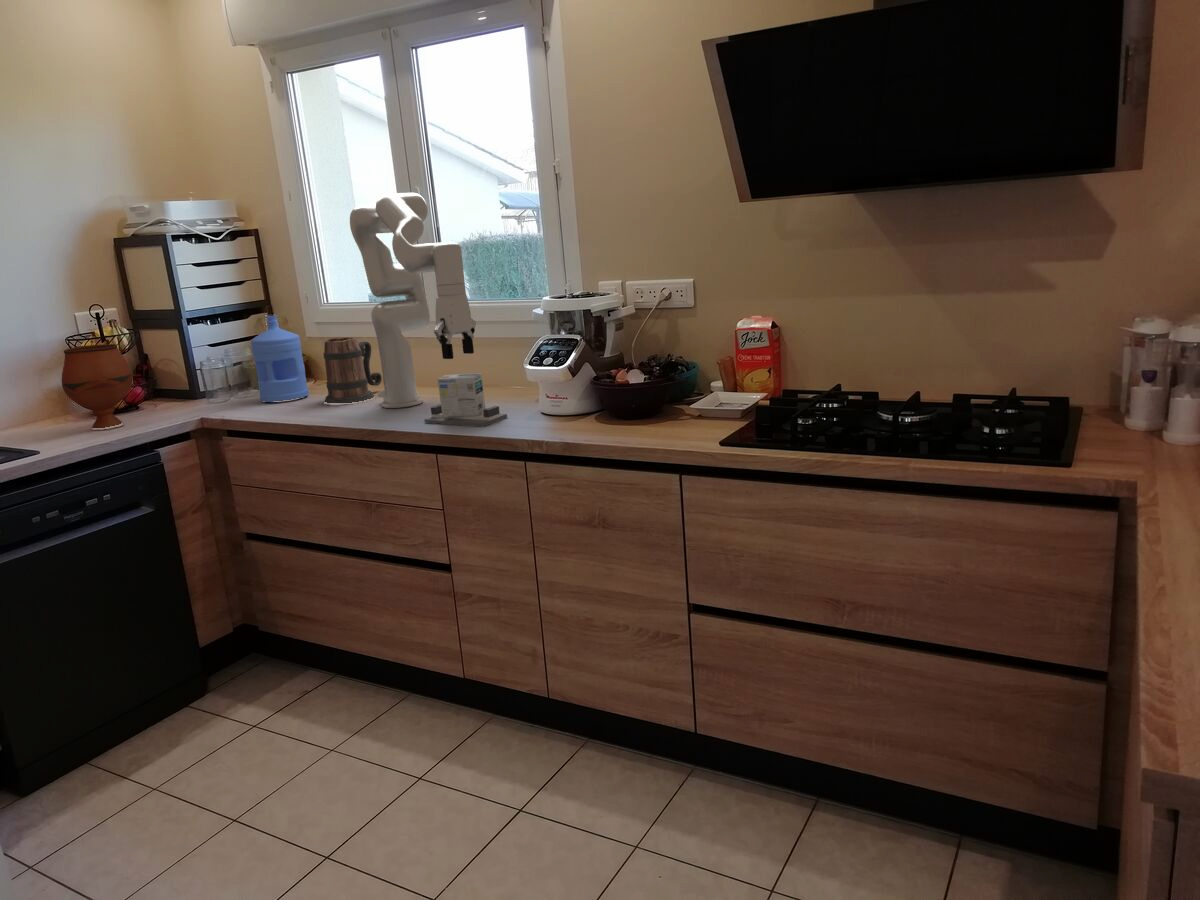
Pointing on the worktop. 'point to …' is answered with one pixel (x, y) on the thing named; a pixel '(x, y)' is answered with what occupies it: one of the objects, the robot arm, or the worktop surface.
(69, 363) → the goblet
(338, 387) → the tankard
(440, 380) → the light bulb box
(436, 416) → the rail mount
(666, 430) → the worktop surface
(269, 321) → the water jug
